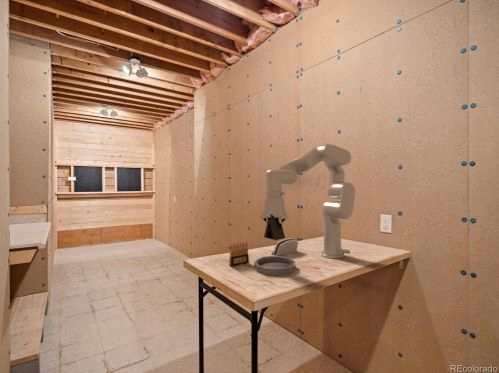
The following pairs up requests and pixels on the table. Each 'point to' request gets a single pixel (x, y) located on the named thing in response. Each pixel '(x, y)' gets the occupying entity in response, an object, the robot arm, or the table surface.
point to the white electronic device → (285, 246)
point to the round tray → (274, 265)
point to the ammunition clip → (238, 254)
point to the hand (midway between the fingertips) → (274, 230)
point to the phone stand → (274, 229)
